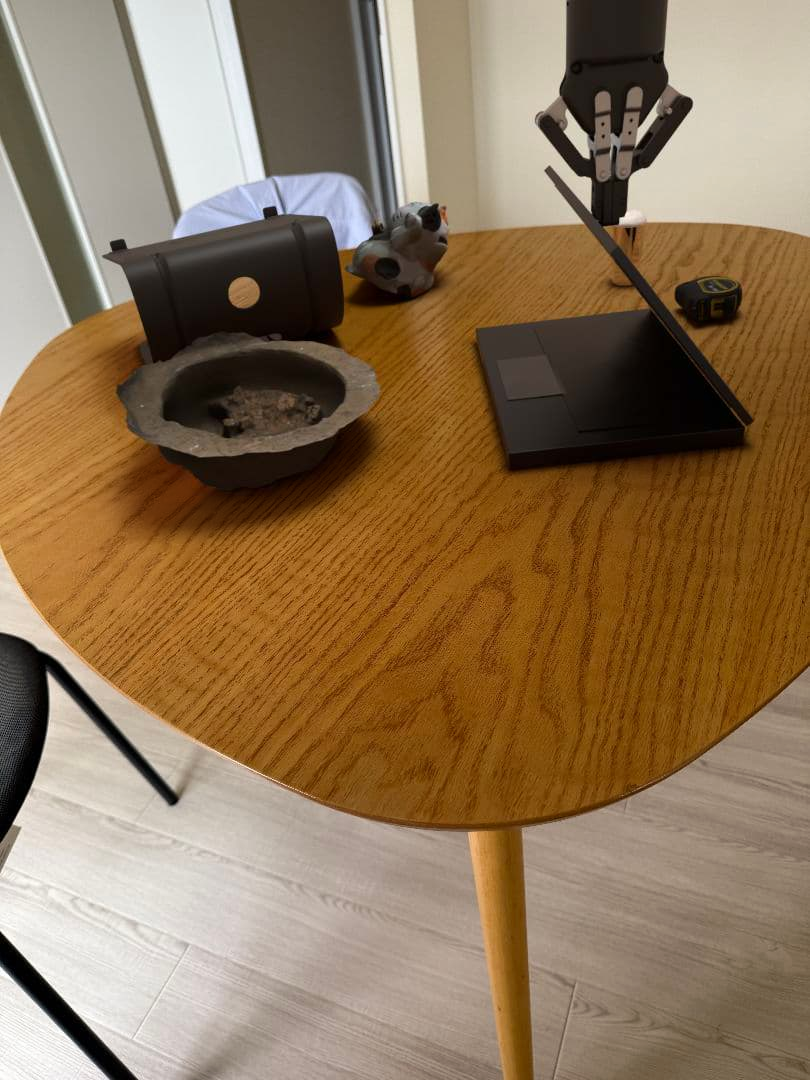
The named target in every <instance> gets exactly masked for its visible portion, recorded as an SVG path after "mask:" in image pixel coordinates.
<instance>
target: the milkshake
mask: <svg viewBox="0 0 810 1080" xmlns="http://www.w3.org/2000/svg"><path fill="white" fill-rule="evenodd" d="M647 222H648V218H647V216H646V214H645V213H644V212H642V210H638V209H635V208H634V209H631V210H627V212H626V214H625V217H622V218H620V222H619V225H613V226H610V233H611V234H610V236H611V237H612V238H613V239H614V241H615V242H616V243H617V244H618V245H619V246H620V248H621V249H622V250H623V252H624V253H625V254H626V256H627V257H628V258H629V259H630V261H631V262H632V263H633V265H634V266H635V267H636V268H637V270H638V271H639V272H640V268H641V261H642V254H643V247H644V241H645V235H646V228H647ZM611 272H612V273H611V274H612V275H611V276H612V277H611V278H612V283H613V284H614V285H615V286H620V287H628V286H629V287H630V286H633V285H632V284H631V282H630V281H629V280H628V278H627V277H626V276H625V275H624V273H623V272H622V271H621V270H620V268H619V267H618V266H617V265H616V263H615V262H614V261H613V259H612V258H611Z"/></svg>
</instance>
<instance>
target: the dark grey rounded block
mask: <svg viewBox="0 0 810 1080" xmlns="http://www.w3.org/2000/svg"><path fill="white" fill-rule="evenodd" d="M278 212H279V211H278V208H277V206H276V205H271V206H266V207H263V208H262V215H263V219H258V220H254V221H248V222H245V223H241V224H236V225H232V226H231V225H230V226H226V227H222V228H218V229H212V230H209V231H204V232H199V233H195V234H190V235H186V236H181V237H178V238H172V239H168V240H163V241H159V242H155V243H150V244H149V243H148V244H146V245H145V244H144V245H141V246H136V247H132V248H128V246H127V242H126V240H125V239H124V238H118V239H113V240H111V241H110V242H109V246H110V250H111V251H109V252H108V253H105V254H103V255H101V257H102V258H103V259H104V260H107V261H109V262H112V263H114V264H115V265H118V266H120V267H121V268H122V271H123V273H124V275H125V278H126V281H127V283H128V285H129V288H130V291H131V294H132V297H133V301H134V303H135V307H136V309H137V312H138V315H139V318H140V322H141V325H142V329H143V332H144V335H145V339H146V340H145V341H143V342H142V343H141V344H140V346H139V351H140V354H141V356H142V358H143V361H144V365H149V364H151V363H157V362H158V361H159V360H160V361H161V362H165V361H167V360H171V359H172V358H173V356H175V355H176V354H177V353H178V352H179V351H181V350H184V349H185V347H186V346H191V345H192V342H193V341H194V340H196V339H197V338H199V337H208V336H210V335H212V334H214V333H219V332H226V333H242V332H243V333H247V334H248V335H251V336H253V337H256V338H259V339H261V340H262V341H264V342H270V341H290V340H293V339H297V338H301V337H304V336H306V335H308V333H309V334H315V333H320V332H323V331H327V330H331V329H334V328H338V327H340V326H341V325H343V321H344V316H345V292H344V282H343V274H342V267H341V261H340V255H339V250H338V245H337V240H336V236H335V233H334V232H335V231H334V229H333V227H332V224H331V222H330V220H329V219H328V217H327V216H325V215H311V214H297V213H296V214H295V213H286V214H285V213H281V214H279V213H278ZM241 278H250V279H251V280H253V281H254V282H255V283H256V285H257V286H258V291H259V295H258V299H257V300H256V301H255V303H253V304H252V305H250V306H248V307H238V306H236V305H235V304H233V303H232V301H231V300H230V295H229V293H230V287H231V285H232V284H233V282H234V281H236V280H238V279H241Z"/></svg>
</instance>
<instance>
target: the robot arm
mask: <svg viewBox="0 0 810 1080" xmlns="http://www.w3.org/2000/svg"><path fill="white" fill-rule="evenodd" d="M565 3H566V5H565V71H564V75H563V78H562V80H561V82H560V85H559V89H558V90H559V91H558V95H559V96H557V98H556V99H555V100H554V101H552V103H551V104H550V105H549V106H548V107H547V108H546V109H545V110H542V111H541V110H540V111H539V112H537V113H536V115H535V117H534V123H535V125H536V126H537V128H538V129H539V130H540V132H541V133H542V134H543V136H545V138H546V139H547V141H548V142H549V143H550V144H551V146H552V148H554V149H555V151H556V152H557V153H558V154H559V156H560V157H561V158H562V159H563V161H564V162H565V163H566V165H567V166H568V167H569V168H570V170H572V172H574V174H575V175H576V176H577V177H578V178H579V177H580V178H584V177H585V178H589V179H590V180H591V187H590V191H591V192H590V193H591V194H590V213H591V214H592V215H593V216H594V217H595V218H596V220H597V221H598V222H599V223H600V224H601V225H602V227H603V228H605V227H611V226H613V225H619V222H620V218H622V217H625V214H626V212H627V211H628V198H629V180H630V178H631V176H633V174H635V173H636V172H638V171H640V170H642V169H643V170H644V169H649V168H650V167H651V165H652V164H653V163H654V161H655V160H656V159H657V158H658V156H659V154H660V153H661V152H662V150H663V149H664V148H665V147H666V145H667V144H668V142H669V141H670V140H671V138H672V136H674V134H675V132H676V131H677V130H678V128H679V127H680V126H681V124H682V123H683V122H684V120H685V119H686V118H687V116H688V115H689V114H690V113H691V110H692V109H693V107H694V101H693V99H692V98H691V97H690V96H687V95H684V94H682V93H680V92H679V91H678V90H676V89H675V88H674V87H673V86H672V85H670V84H669V81H670V80H669V79H670V77H669V75H670V74H669V71H668V69H667V66H666V64H665V50H666V49H665V48H666V35H667V23H668V22H667V20H668V4H669V0H565ZM657 102H658V103H657ZM656 104H657V105H656ZM655 106H656V108H655ZM654 108H655V112H656V115H657V116H656V117H655V119H654V120H653V121H652V123H651V124H650V126H649V127H648V128H647V130H646V131H645V133H644V134H643V136H642V137H641V139H640V140H639V141H638V143H637V137H638V129H639V128H640V127H641V126H642V125H643V124H644V122H645V121H646V120H647V118H648V116H649V114H651V112H652V110H653V109H654ZM567 111H568V113H570V115H571V117H572V118H573V119H574V120H575V122H576V123H577V125H578V126H579V127H580V129H581V130H582V131H583V132H584V133H585V134H586V138H587V139H586V140H587V148H588V157H589V158H587V157H584V156H583V155H582V153H580V151H579V150H578V149H577V147H576V146H575V144H573V142H572V141H571V140H570V138H569V137H568V135H566V133H565V131H566V129H567V127H568V125H569V122H568V121H569V120H568V118H567V117H566V116H567V115H566V112H567Z"/></svg>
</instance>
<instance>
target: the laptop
mask: <svg viewBox="0 0 810 1080" xmlns="http://www.w3.org/2000/svg"><path fill="white" fill-rule="evenodd" d="M475 343H476V346H477V351H478V354H479V357H480V358H479V359H480V361H481V365H482V370H483V373H484V377H485V381H486V385H487V388H488V393H489V396H490V401H491V404H492V408H493V412H494V417H495V419H496V423H497V427H498V432H499V435H500V438H501V442H502V447H503V451H504V454H505V458H506V463H507V466H508V470H509V471H513V470H523V469H524V470H525V469H533V468H541V467H550V466H560V465H568V464H569V465H570V464H578V463H580V464H581V463H589V462H597V461H607V460H616V459H625V458H626V459H627V458H632V457H634V458H635V457H644V456H653V455H664V454H672V453H682V452H689V451H701V450H708V449H720V448H728V447H738V446H743V445H744V444H743V443H744V438H745V433H746V426H745V424H744V423H743V422H742V421H741V419H740V418H739V417H738V416H737V414H736V413H735V412H734V411H733V409H732V408H731V407H729V406H728V405H727V403H726V402H725V401H724V400H723V398H722V397H721V396H720V395H719V393H718V392H717V391H716V389H715V388H714V387H713V386H712V384H711V383H710V382H709V381H708V379H707V378H706V377H705V376H704V374H703V373H702V372H701V371H700V369H699V368H698V367H697V366H696V364H695V363H694V362H693V361H692V359H691V358H690V357H689V356H688V354H687V353H686V352H685V350H684V349H683V348H682V347H681V345H680V344H679V343H678V342H677V340H676V339H675V338H674V337H673V335H672V334H671V333H670V332H669V330H668V329H667V328H666V327H665V325H664V324H663V323H662V322H661V320H660V319H659V318H658V316H657V315H656V314H655V313H654V311H653V310H652V309H651V308H650V307H649V308H640V309H632V310H624V311H616V312H615V311H614V312H607V313H606V312H605V313H598V314H589V315H580V316H571V317H563V318H555V319H547V320H546V319H545V320H538V321H529V322H527V321H526V322H519V323H511V324H503V325H493V326H485V327H484V326H483V327H476V328H475Z"/></svg>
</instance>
